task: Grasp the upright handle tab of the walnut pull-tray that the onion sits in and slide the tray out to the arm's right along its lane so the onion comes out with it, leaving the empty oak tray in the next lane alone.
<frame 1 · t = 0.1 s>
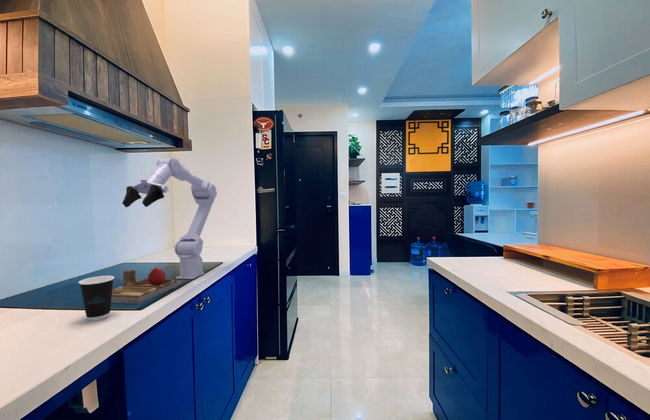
hand: (134, 204, 95), 32 cm above the worktop, tool tilted 50°, fingers open, 7 cm apart
oak tray: (124, 287, 98), point 3 cm above the worktop, slide at 0.0 cm
onion: (158, 287, 107), resting on walnut tray
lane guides: (141, 292, 103), on the worktop
dixie cup: (98, 317, 81), on the worktop
walnut tray: (146, 279, 108), point 3 cm above the worktop, slide at 0.0 cm, touching onion
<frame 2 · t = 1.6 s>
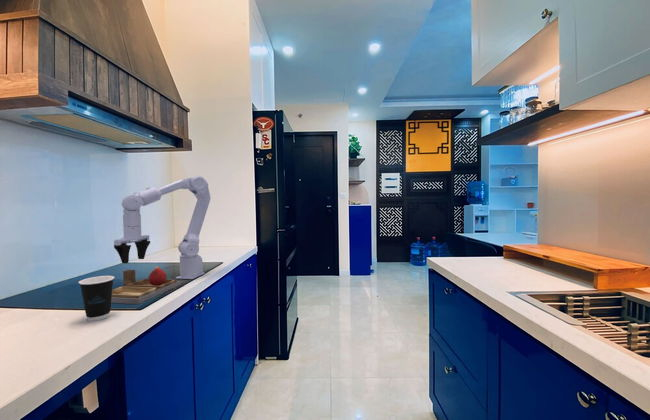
hand: (133, 261, 111), 10 cm above the worktop, tool pointing down, fingers open, 7 cm apart
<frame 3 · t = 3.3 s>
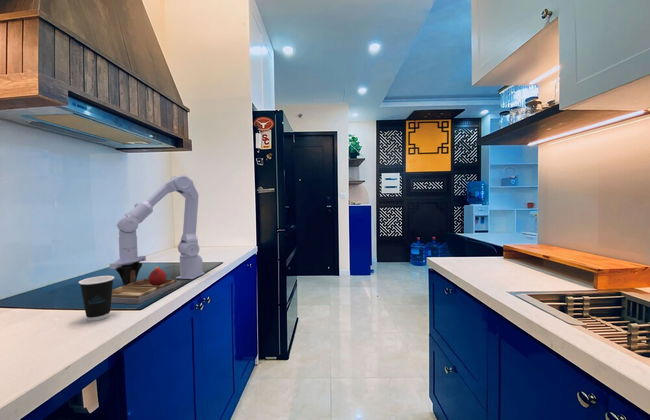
hand: (129, 283, 109), 2 cm above the worktop, tool pointing down, fingers closed on walnut tray, 2 cm apart
walnut tray: (146, 279, 108), point 3 cm above the worktop, slide at 0.0 cm, touching gripper, onion
everything else where it was.
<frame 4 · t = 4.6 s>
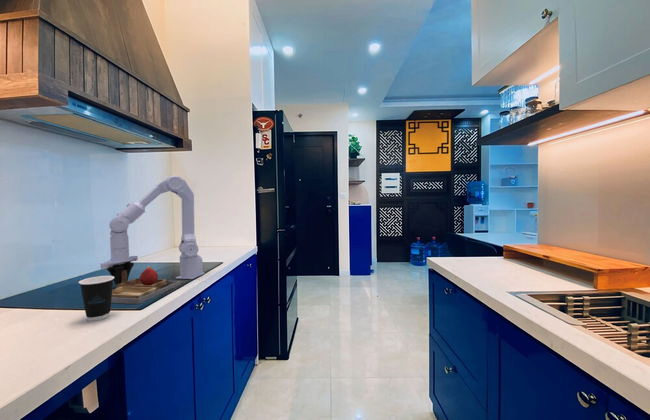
hand: (121, 282, 110), 2 cm above the worktop, tool pointing down, fingers closed on walnut tray, 2 cm apart
onion: (149, 287, 108), resting on walnut tray
walnut tray: (138, 279, 108), point 3 cm above the worktop, slide at 3.7 cm, touching gripper, onion
everything else where it was.
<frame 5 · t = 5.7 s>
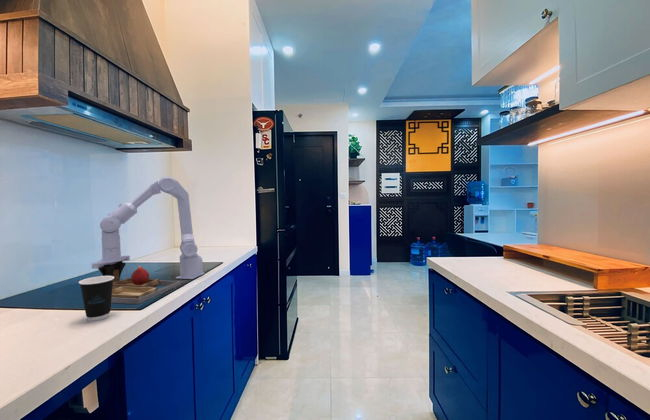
hand: (112, 282, 110), 2 cm above the worktop, tool pointing down, fingers closed on walnut tray, 2 cm apart
onion: (140, 287, 108), resting on walnut tray
walnut tray: (129, 278, 109), point 3 cm above the worktop, slide at 7.4 cm, touching gripper, onion
everything else where it was.
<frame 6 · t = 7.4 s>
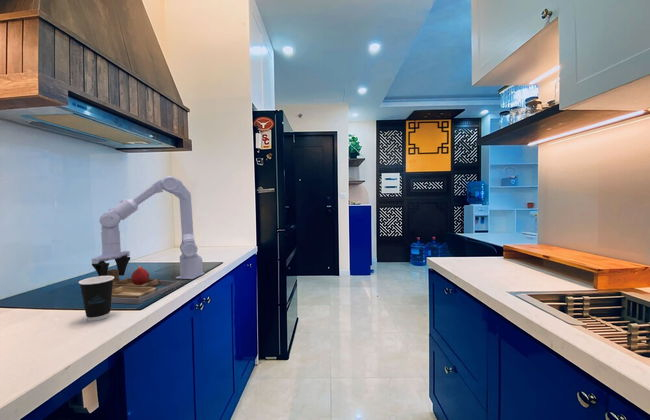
hand: (112, 278, 110), 4 cm above the worktop, tool pointing down, fingers open, 7 cm apart
walnut tray: (129, 278, 109), point 3 cm above the worktop, slide at 7.4 cm, touching onion
everything else where it was.
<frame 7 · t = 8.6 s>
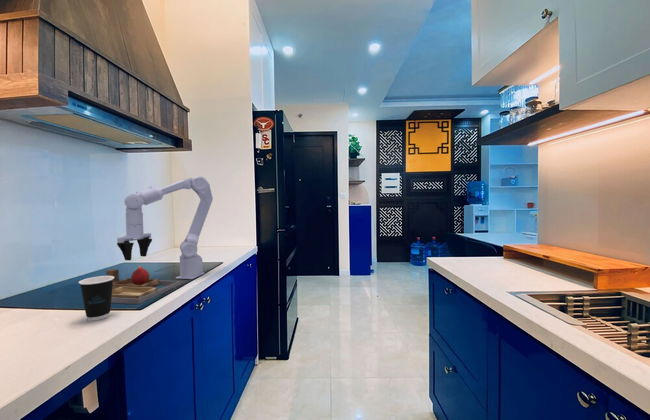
hand: (135, 258, 114), 10 cm above the worktop, tool pointing down, fingers open, 7 cm apart
nothing on the worktop moved.
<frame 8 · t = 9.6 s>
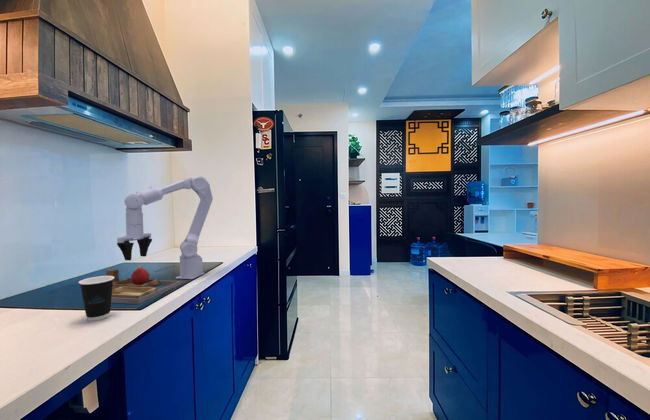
hand: (135, 258, 114), 10 cm above the worktop, tool pointing down, fingers open, 7 cm apart
nothing on the worktop moved.
at the end: walnut tray slide at 7.4 cm; onion inside the target area (0.7 cm from its centre), resting on walnut tray; onion 2.6 cm from the walnut tray (horizontally) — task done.
